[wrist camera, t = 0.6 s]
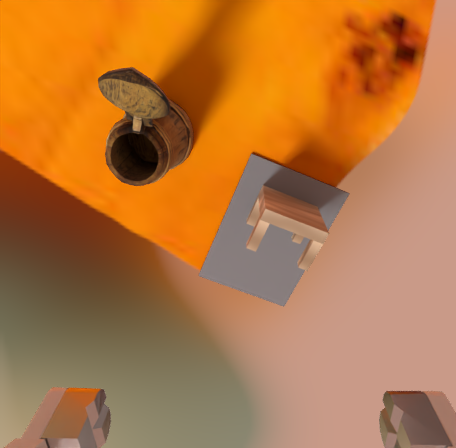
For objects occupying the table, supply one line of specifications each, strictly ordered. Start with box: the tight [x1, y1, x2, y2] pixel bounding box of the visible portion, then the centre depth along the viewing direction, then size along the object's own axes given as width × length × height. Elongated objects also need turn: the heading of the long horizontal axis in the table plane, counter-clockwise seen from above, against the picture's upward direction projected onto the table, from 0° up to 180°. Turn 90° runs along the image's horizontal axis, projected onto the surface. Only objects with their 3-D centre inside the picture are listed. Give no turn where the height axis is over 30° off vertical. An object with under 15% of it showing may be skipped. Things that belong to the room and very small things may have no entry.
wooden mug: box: [98, 67, 193, 186], centre depth 38 cm, size 9×14×18 cm, turn 164°
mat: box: [199, 154, 349, 306], centre depth 53 cm, size 20×14×1 cm
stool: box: [246, 185, 329, 271], centre depth 47 cm, size 6×8×8 cm
